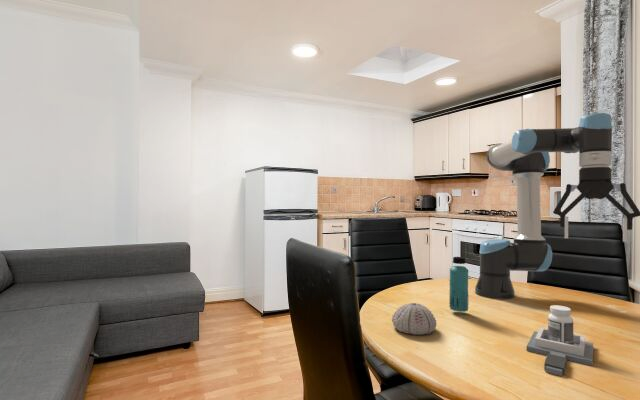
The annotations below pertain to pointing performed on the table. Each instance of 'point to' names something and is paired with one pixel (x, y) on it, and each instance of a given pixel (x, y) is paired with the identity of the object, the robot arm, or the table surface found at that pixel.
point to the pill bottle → (560, 325)
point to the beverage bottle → (459, 286)
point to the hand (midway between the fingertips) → (594, 239)
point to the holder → (560, 351)
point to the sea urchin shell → (414, 319)
